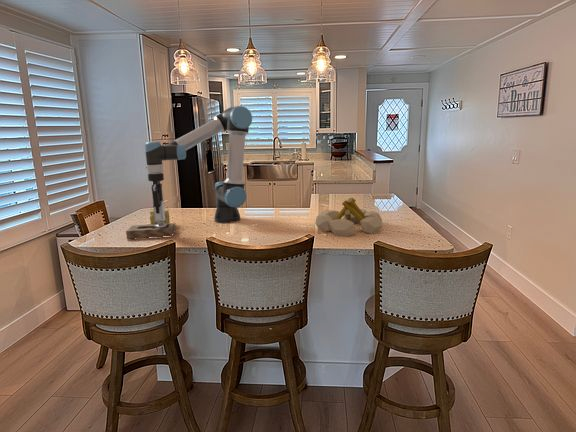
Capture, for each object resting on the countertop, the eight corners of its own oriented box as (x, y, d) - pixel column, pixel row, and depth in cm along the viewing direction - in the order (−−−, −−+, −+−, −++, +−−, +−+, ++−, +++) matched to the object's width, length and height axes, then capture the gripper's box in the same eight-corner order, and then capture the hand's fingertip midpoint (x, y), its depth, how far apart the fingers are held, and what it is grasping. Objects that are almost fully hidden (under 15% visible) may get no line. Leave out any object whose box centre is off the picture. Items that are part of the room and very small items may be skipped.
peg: (167, 225, 213) (165, 199, 210) (165, 228, 208) (163, 201, 205) (156, 226, 213) (153, 200, 210) (153, 229, 207) (150, 202, 204)
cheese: (150, 230, 222) (148, 212, 220) (151, 225, 232) (149, 208, 230) (170, 228, 225) (168, 210, 222) (170, 224, 235) (168, 207, 233)
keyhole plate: (175, 231, 218) (174, 223, 217) (171, 237, 206) (170, 228, 205) (133, 233, 215) (132, 225, 214) (127, 239, 204) (126, 231, 203)
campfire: (329, 240, 193) (328, 205, 189) (307, 224, 225) (306, 194, 221) (395, 232, 202) (396, 199, 198) (365, 218, 234) (365, 189, 230)
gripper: (151, 171, 212) (156, 214, 217) (143, 175, 195) (148, 222, 200) (166, 170, 213) (170, 214, 218) (159, 174, 196) (164, 221, 201)
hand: (159, 217), depth 209 cm, fingers closed on peg, 4 cm apart
